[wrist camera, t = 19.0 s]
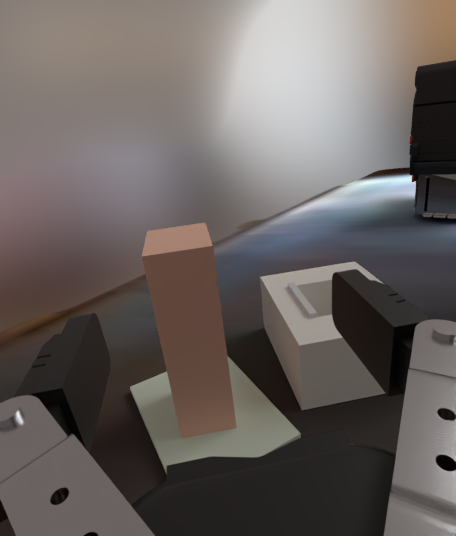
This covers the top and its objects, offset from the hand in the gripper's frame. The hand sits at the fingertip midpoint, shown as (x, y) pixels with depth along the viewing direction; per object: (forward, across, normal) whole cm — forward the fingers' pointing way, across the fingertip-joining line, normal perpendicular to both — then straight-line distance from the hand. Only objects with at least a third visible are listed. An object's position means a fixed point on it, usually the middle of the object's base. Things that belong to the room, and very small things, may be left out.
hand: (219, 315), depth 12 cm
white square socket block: (+15, -11, +15) cm, 24 cm away
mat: (+11, +2, +15) cm, 19 cm away
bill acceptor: (+51, -49, +16) cm, 72 cm away
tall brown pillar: (+11, +2, +15) cm, 18 cm away
